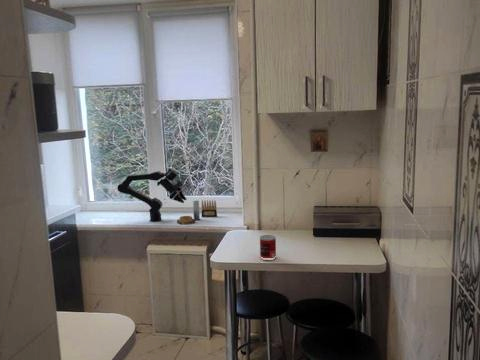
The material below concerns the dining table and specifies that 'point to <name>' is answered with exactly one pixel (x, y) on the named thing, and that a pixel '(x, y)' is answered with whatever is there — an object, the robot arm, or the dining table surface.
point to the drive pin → (196, 210)
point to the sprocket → (185, 220)
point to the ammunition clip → (209, 209)
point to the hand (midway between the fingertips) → (184, 201)
